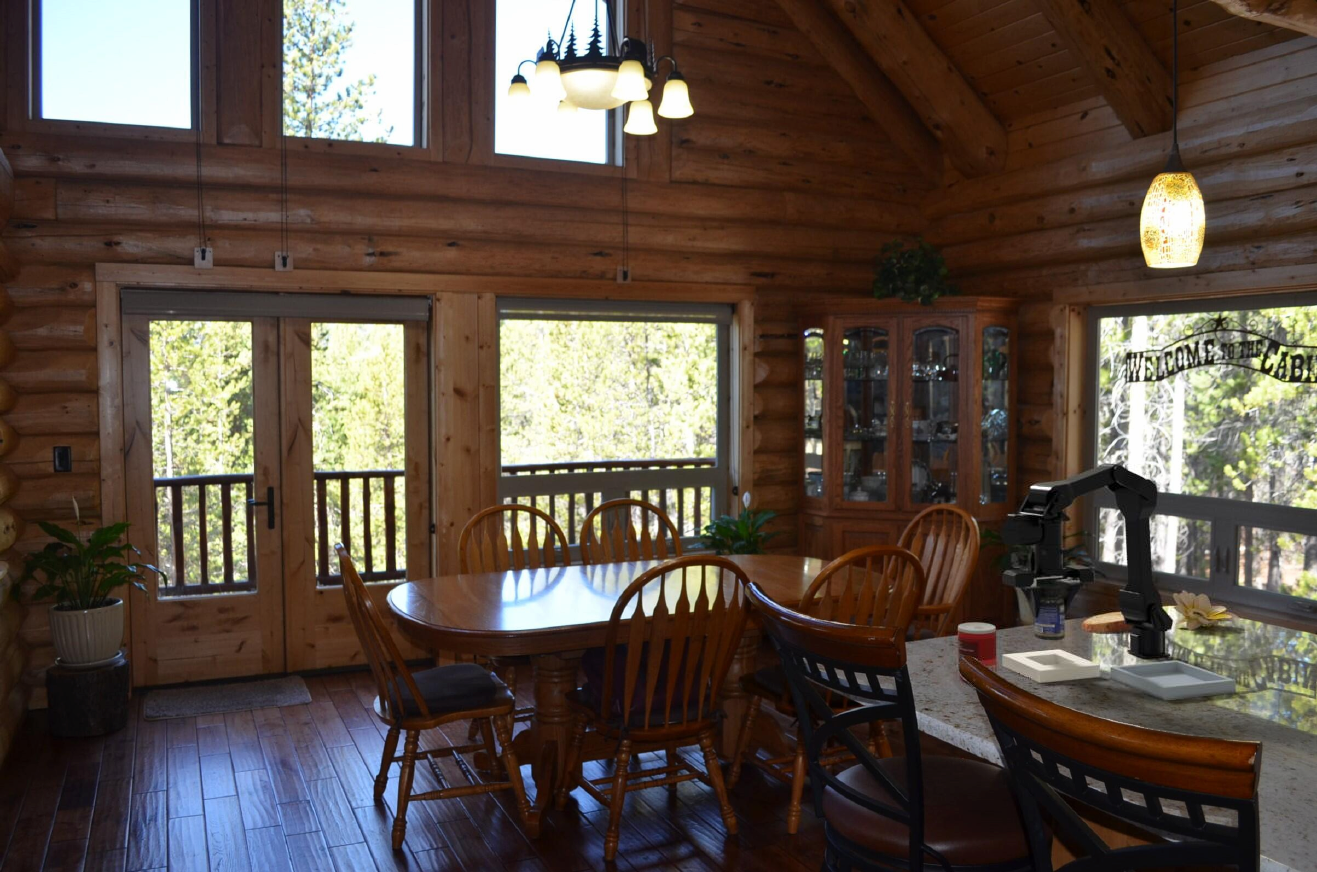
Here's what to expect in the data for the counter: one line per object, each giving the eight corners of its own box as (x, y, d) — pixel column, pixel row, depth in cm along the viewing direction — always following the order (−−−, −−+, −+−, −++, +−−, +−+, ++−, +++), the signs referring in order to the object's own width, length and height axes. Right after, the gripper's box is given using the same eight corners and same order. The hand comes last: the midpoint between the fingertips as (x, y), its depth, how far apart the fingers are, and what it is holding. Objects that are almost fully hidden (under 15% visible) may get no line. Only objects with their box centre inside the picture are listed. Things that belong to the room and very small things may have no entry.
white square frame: (1059, 660, 230) (1059, 649, 230) (1099, 676, 216) (1099, 664, 216) (1002, 665, 227) (1002, 654, 227) (1039, 682, 213) (1039, 670, 213)
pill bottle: (1067, 641, 218) (1066, 588, 217) (1036, 640, 219) (1035, 588, 218) (1062, 634, 224) (1061, 583, 223) (1032, 633, 225) (1031, 583, 224)
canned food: (997, 674, 220) (996, 623, 220) (996, 684, 213) (995, 631, 212) (959, 672, 223) (958, 621, 222) (957, 682, 215) (956, 629, 215)
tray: (1177, 672, 218) (1177, 660, 218) (1235, 692, 203) (1235, 680, 202) (1110, 678, 215) (1110, 666, 214) (1164, 700, 199) (1164, 687, 199)
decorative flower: (1201, 629, 247) (1195, 587, 249) (1163, 631, 257) (1157, 591, 259) (1247, 627, 252) (1240, 585, 255) (1208, 629, 263) (1202, 589, 265)
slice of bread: (1080, 633, 256) (1080, 618, 256) (1084, 618, 272) (1084, 604, 272) (1161, 638, 248) (1161, 623, 248) (1160, 622, 264) (1160, 608, 264)
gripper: (1064, 535, 230) (1065, 605, 231) (987, 541, 226) (989, 612, 227) (1095, 542, 220) (1096, 615, 220) (1016, 548, 215) (1017, 622, 216)
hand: (1049, 616), depth 221 cm, fingers closed on pill bottle, 6 cm apart
